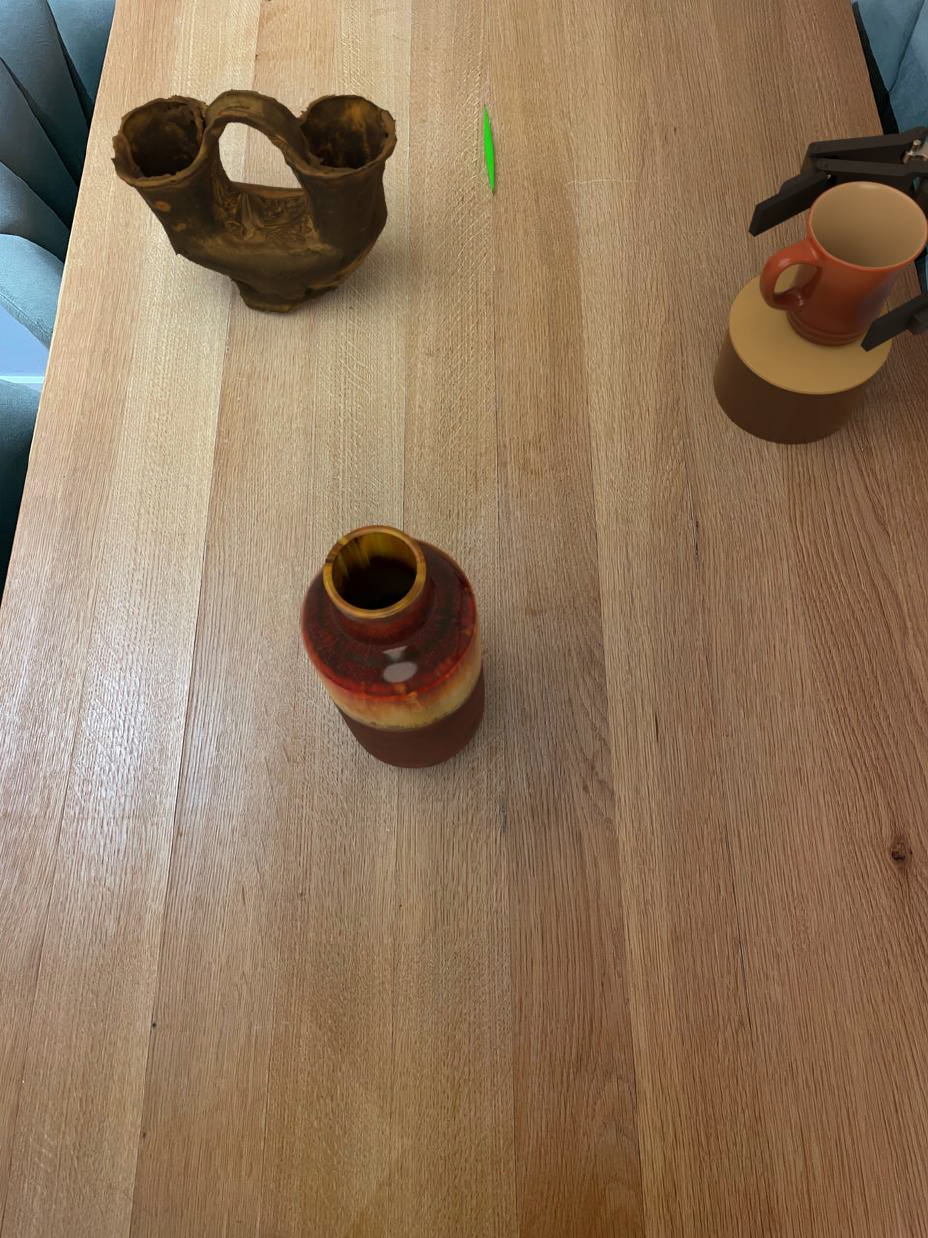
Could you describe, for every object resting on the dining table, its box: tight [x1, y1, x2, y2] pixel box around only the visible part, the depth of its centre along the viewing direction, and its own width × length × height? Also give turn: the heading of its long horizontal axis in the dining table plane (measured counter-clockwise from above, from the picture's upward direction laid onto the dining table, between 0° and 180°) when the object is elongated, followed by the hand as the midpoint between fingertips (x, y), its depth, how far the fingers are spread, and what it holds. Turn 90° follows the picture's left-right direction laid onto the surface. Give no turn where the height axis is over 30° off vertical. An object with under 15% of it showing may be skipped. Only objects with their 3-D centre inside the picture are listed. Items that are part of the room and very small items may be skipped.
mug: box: [759, 181, 928, 347], centre depth 75 cm, size 12×9×10 cm
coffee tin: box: [713, 264, 893, 445], centre depth 83 cm, size 13×13×8 cm
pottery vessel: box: [110, 88, 398, 315], centre depth 85 cm, size 25×11×20 cm, turn 87°
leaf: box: [483, 103, 495, 196], centre depth 99 cm, size 1×14×1 cm, turn 3°
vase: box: [299, 524, 486, 770], centre depth 64 cm, size 11×11×26 cm
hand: (809, 277), depth 72 cm, fingers open, 13 cm apart
